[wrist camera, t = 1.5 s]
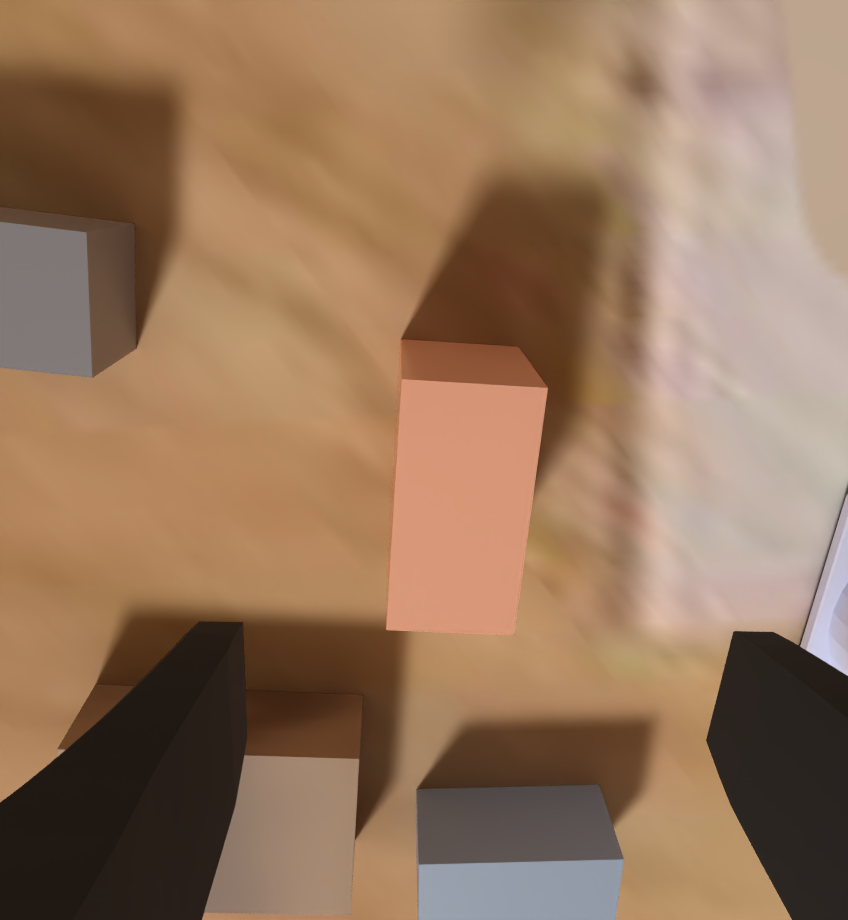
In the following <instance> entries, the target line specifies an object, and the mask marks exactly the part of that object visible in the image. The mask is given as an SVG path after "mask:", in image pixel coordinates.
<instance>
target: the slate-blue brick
mask: <svg viewBox="0 0 848 920" xmlns="http://www.w3.org/2000/svg"><path fill="white" fill-rule="evenodd" d="M623 862H624V858H623V855H622V852H621V849H620V846H619V843H618V840H617V837H616V834H615V831H614V828H613V825H612V822H611V819H610V816H609V813H608V810H607V807H606V804H605V801H604V798H603V795H602V792H601V789H600V786H599V785H564V786H523V787H482V788H441V789H417V891H418V920H616V912H617V905H618V898H619V891H620V884H621V876H622V869H623Z"/></svg>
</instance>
